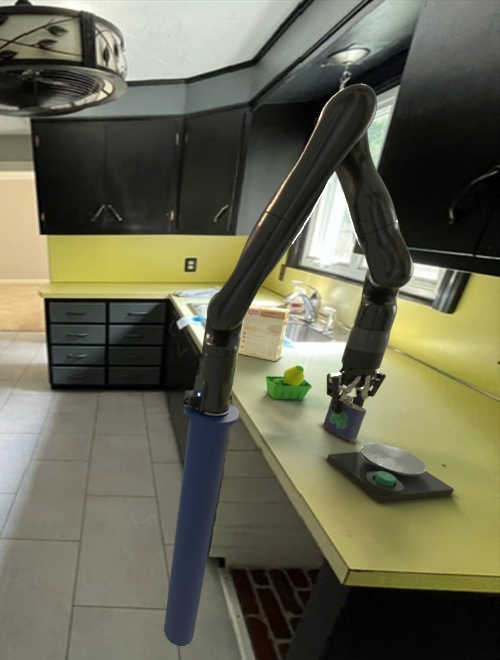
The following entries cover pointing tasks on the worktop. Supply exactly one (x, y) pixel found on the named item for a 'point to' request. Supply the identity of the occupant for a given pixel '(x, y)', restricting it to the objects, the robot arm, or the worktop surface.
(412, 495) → the scale
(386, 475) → the tare button
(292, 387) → the fruit basket
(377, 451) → the scale pan
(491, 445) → the worktop surface
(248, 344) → the coffeecake box
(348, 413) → the flask
